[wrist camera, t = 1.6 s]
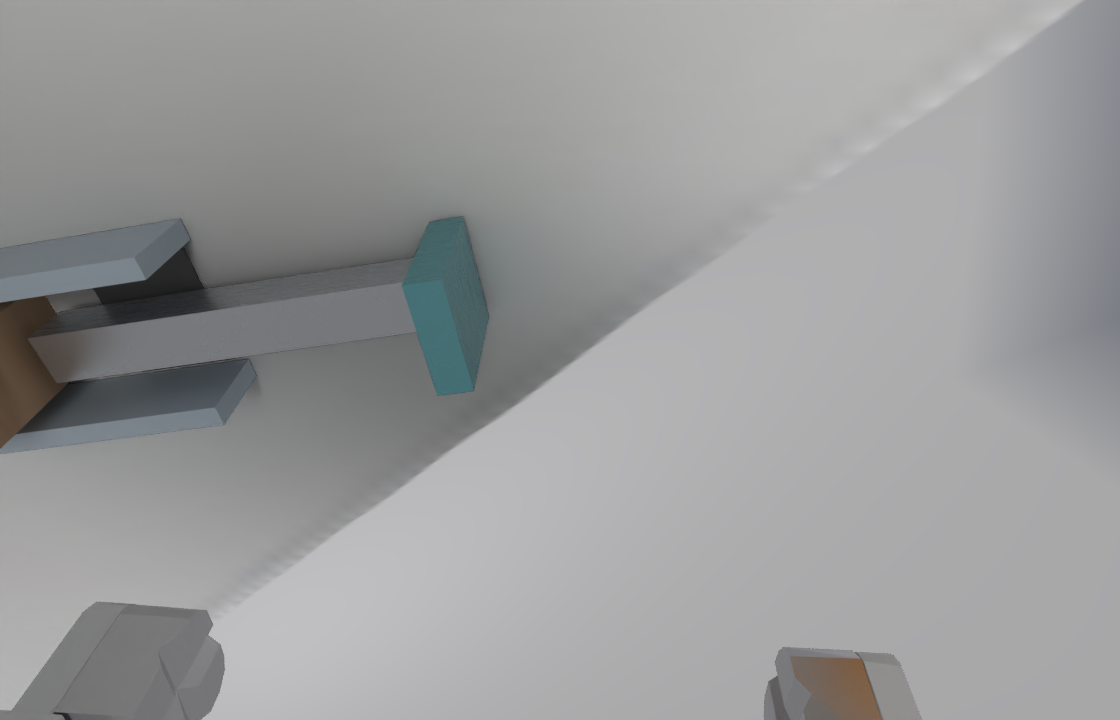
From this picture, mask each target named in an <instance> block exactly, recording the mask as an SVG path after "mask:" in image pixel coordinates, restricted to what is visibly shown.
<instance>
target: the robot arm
mask: <svg viewBox="0 0 1120 720" xmlns="http://www.w3.org/2000/svg"><path fill="white" fill-rule="evenodd" d="M212 626H213V623H212V621H211V619H210V617H209V614H208V612H207V610H197V609H184V608H171V607H159V606H146V605H136V604H125V603H109V602H96V603H94V604H93V605H92V606H90V607H89V608H88V609H86V610H85V611H84V612H83V613H82V614H81V616H80V617H79V618H78V620H77V621H76V623H75V624H74V625H73V627H72V628H71V629H70V631H69V632H68V634H67V635H66V636H65V638H64V639H63V640H62V642H61V643H60V645H59V646H58V647H57V649H56V650H55V651H54V653H53V654H52V656H51V657H50V658H49V660H48V661H47V663H46V664H45V665H44V667H43V668H42V669H41V671H40V672H39V674H38V675H37V676H36V678H35V679H34V680H33V682H32V683H31V685H30V686H29V687H28V689H27V690H26V691H25V693H24V694H23V696H22V697H21V698H20V700H19V701H18V702H17V704H16V705H15V707H14V708H13V709H12V711H7V710H0V720H201V719H202V718H203V717H204V716H206V715H207V714H208V713H209V712H210V711H211V709H212V707H213V705H214V703H215V701H216V698H217V696H218V694H219V692H220V688H221V684H222V679H223V675H224V670H225V668H224V654H223V651H222V648H221V645H220V644H219V643H218V642H216V641H215V640H214V639H212V638H211V637H210V636H209V635H208V634H209V632H210V630H211V628H212ZM775 665H776V670H777V674H778V676H776V677H775V678H773V679H771V680H770V681H769V682H768V686H767V690H766V693H765V700H764V720H922V718H921V716H920V713H919V711H918V708H917V705H916V703H915V700H914V698H913V695H912V692H911V690H910V688H909V685H908V682H907V680H906V677H905V674H904V672H903V670H902V667H901V664H900V662H899V661H898V660H897V659H896V657H895V656H894V655H891V654H888V653H867V652H866V653H865V652H853V651H852V650H831V649H810V648H790V647H783V648H782V649H781V650H779V652H778V655H777V658H776V660H775Z"/></svg>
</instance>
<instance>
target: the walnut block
mask: <svg viewBox="0 0 1120 720" xmlns="http://www.w3.org/2000/svg"><path fill="white" fill-rule="evenodd" d="M55 315H56V313H55V311H54V309H53V308H52V306H51V305H50V303H49V301H48V300H47V298H46V297H45V296H39V297H33V298H27V299H20V300H14V301H7V302H1V303H0V449H1V448H2V447H3V446H4V445H5V444H6V443H7V442H8V441H9V440H10V439H11V438H12V437H13V436H14V435H15V434H16V433H17V432H18V431H19V430H20V429H21V428H22V427H23V426H25V425H26V424H27V423H28V422H29V421H30V420H31V419H32V418H33V417H34V416H35V415H36V414H37V413H38V412H39V411H40V410H41V409H42V408H43V407H44V406H45V405H46V404H47V403H48V402H49V401H50V400H51V399H52V398H53V397H54V396H55V395H56V394H57V393H59V392H60V391H61V390H62V389H63V388H64V387H65V386H66V385H67V384H68V383H69V382H70V381H68V382H61V383H57V382H56V381H55V379H54V378H53V376H52V375H51V373H50V372H49V370H48V369H47V367H46V366H45V364H44V363H43V361H42V360H41V358H40V357H39V355H38V354H37V352H36V351H35V349H34V348H33V347H32V345H31V344H30V342H29V341H28V339H27V338H28V337H30V336H31V335H32V334H33V333H34V332H36V331H37V330H38V329H39V328H41V327H42V326H43V325H44V324H45V323H47V322H48V321H49V320H50V319H52V318H53V317H54V316H55Z"/></svg>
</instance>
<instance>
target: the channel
mask: <svg viewBox="0 0 1120 720" xmlns="http://www.w3.org/2000/svg"><path fill="white" fill-rule="evenodd" d="M189 240H191V239H190V237H189V235H188V233H187V231H186V229H185V227H184V225H183V223H182V221H181V219H176V220H170V221H164V222H158V223H152V224H145V225H139V226H133V227H127V228H121V229H115V230H109V231H103V232H97V233H91V234H85V235H79V236H73V237H67V238H61V239H55V240H49V241H43V242H36V243H30V244H24V245H18V246H12V247H6V248H0V303H1V302H7V301H14V300H20V299H27V298H33V297H39V296H46V295H52V294H59V293H65V292H71V291H78V290H84V289H91V288H93V289H94V290H95V292H96V294H97V296H98V297H99V299H100V301H101V302H102V304H103V305H106V304H112V303H119V302H125V301H132V300H138V299H145V298H151V297H158V296H164V295H171V294H177V293H184V292H190V291H197V290H203V289H204V288H203V286H202V284H201V282H200V280H199V278H198V276H197V274H196V272H195V270H194V268H193V266H192V264H191V262H190V260H189V258H188V256H187V254H186V252H185V250H184V248H183V246H184V245H185V244H186V243H187V242H188V241H189ZM231 359H236V358H231ZM224 360H229V359H224ZM217 361H221V360H217ZM210 362H214V361H210ZM203 363H207V362H203ZM196 364H200V363H196ZM188 365H193V364H188ZM181 366H186V365H181ZM174 367H179V366H174ZM167 368H172V367H167ZM160 369H165V368H160ZM153 370H158V369H153ZM146 371H151V370H146ZM142 372H144V371H142ZM256 376H257V375H256V373H255V371H254V369H253V367H252V365H251V363H250V361H249V359H246V360H239V361H232V362H225V363H218V364H211V365H204V366H196V367H189V368H182V369H175V370H168V371H161V372H154V373H147V374H140V375H133V376H126V377H118V378H111V379H104V380H97V381H90V382H83V383H76V384H69V385H66V386H65V387H64V388H63V389H62V390H61V391H60V392H59V393H57V394H56V395H55V396H54V397H53V398H52V399H51V400H50V401H49V402H48V403H47V404H46V405H45V406H44V407H43V408H42V409H41V410H40V411H39V412H38V413H37V414H36V415H35V416H34V417H33V418H32V419H31V420H30V421H29V422H28V423H27V424H26V425H25V426H23V427H22V428H21V429H20V430H19V431H18V432H17V433H16V434H15V435H14V436H13V437H12V438H11V439H10V440H9V441H8V442H7V443H6V444H5V445H4V446H3V447H2V448H1V449H0V454H5V453H13V452H20V451H28V450H36V449H43V448H51V447H58V446H66V445H74V444H81V443H89V442H97V441H104V440H112V439H119V438H127V437H135V436H142V435H150V434H158V433H165V432H173V431H181V430H188V429H196V428H203V427H211V426H219V425H224V424H225V423H226V421H227V420H228V418H229V417H230V415H231V414H232V412H233V411H234V409H235V408H236V406H237V405H238V403H239V402H240V400H241V399H242V397H243V395H244V394H245V392H246V391H247V389H248V388H249V386H250V385H251V383H252V382H253V380H254V379H255V377H256Z"/></svg>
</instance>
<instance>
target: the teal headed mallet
mask: <svg viewBox="0 0 1120 720" xmlns="http://www.w3.org/2000/svg"><path fill="white" fill-rule="evenodd" d="M488 319H489V314H488V310H487V306H486V303H485V299H484V295H483V291H482V287H481V283H480V279H479V276H478V272H477V268H476V264H475V260H474V256H473V252H472V248H471V245H470V241H469V237H468V233H467V229H466V225H465V221H464V218H463V217H457V218H451V219H444V220H438V221H432V222H429V224H428V227H427V229H426V231H425V233H424V236H423V238H422V240H421V242H420V245H419V247H418V249H417V252H416V254H415V256H414V257H412V258H406V259H399V260H393V261H386V262H380V263H373V264H367V265H360V266H354V267H347V268H341V269H334V270H328V271H321V272H314V273H308V274H301V275H295V276H288V277H282V278H275V279H269V280H262V281H256V282H249V283H243V284H236V285H230V286H223V287H217V288H210V289H203V290H197V291H190V292H184V293H177V294H171V295H164V296H158V297H151V298H145V299H138V300H132V301H125V302H119V303H112V304H106V305H99V306H93V307H86V308H79V309H73V310H66V311H60V312H59V313H58V314H56V315H55V316H54V317H53V318H52V319H50V320H49V321H48V322H47V323H45V324H44V325H43V326H42V327H41V328H39V329H38V330H37V331H36V332H34V333H33V334H32V335H31V336H30V337H28V338H27V339H28V341H29V342H30V344H31V345H32V347H33V348H34V349H35V351H36V352H37V354H38V355H39V357H40V358H41V360H42V361H43V363H44V364H45V366H46V367H47V369H48V370H49V372H50V373H51V375H52V376H53V378H54V379H55V381H56V382H57V383H61V382H68V381H75V380H82V379H89V378H97V377H104V376H111V375H118V374H125V373H132V372H139V371H146V370H153V369H160V368H167V367H174V366H181V365H188V364H196V363H203V362H210V361H217V360H224V359H231V358H238V357H245V356H252V355H259V354H266V353H273V352H280V351H287V350H294V349H302V348H309V347H316V346H323V345H330V344H337V343H344V342H351V341H358V340H365V339H372V338H379V337H386V336H393V335H400V334H408V333H415V332H417V335H418V338H419V341H420V344H421V347H422V350H423V353H424V356H425V359H426V362H427V365H428V368H429V372H430V375H431V378H432V381H433V384H434V387H435V390H436V393H437V396H440V395H448V394H456V393H463V392H471V391H474V388H475V383H476V378H477V373H478V368H479V363H480V359H481V354H482V349H483V344H484V339H485V334H486V329H487V324H488Z"/></svg>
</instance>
